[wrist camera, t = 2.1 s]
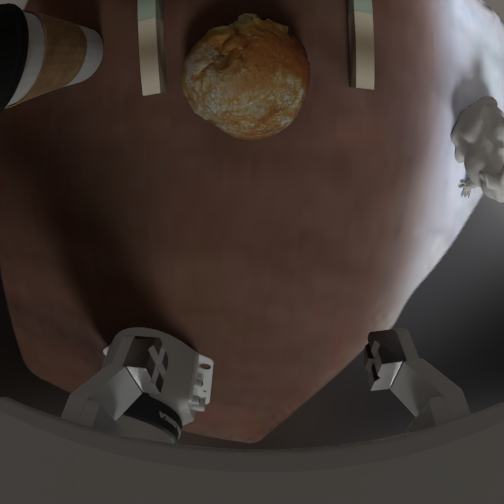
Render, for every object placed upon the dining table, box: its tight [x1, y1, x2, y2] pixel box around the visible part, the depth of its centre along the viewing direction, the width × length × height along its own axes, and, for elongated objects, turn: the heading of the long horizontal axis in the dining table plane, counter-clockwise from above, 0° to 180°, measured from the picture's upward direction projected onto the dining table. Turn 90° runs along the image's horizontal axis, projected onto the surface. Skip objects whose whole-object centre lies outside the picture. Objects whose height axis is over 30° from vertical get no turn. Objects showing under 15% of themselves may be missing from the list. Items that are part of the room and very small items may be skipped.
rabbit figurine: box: [451, 96, 504, 202], centre depth 20 cm, size 12×8×10 cm, turn 169°
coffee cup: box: [0, 3, 104, 112], centre depth 14 cm, size 8×8×15 cm
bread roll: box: [181, 13, 310, 140], centre depth 20 cm, size 10×10×8 cm
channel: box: [138, 0, 374, 96], centre depth 18 cm, size 14×19×2 cm
